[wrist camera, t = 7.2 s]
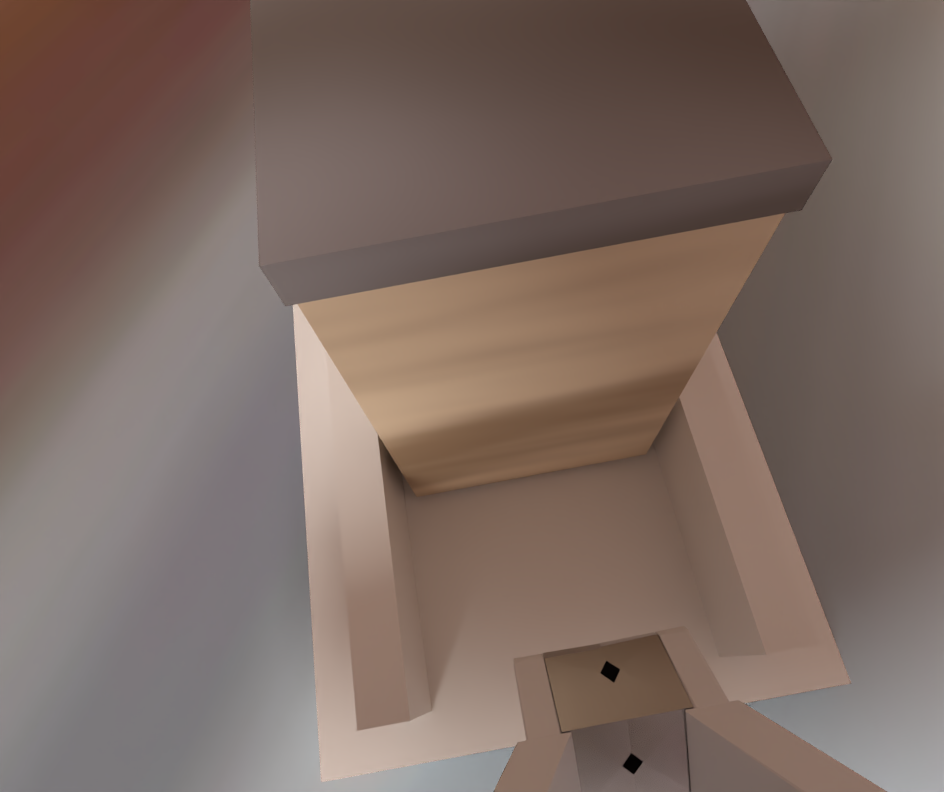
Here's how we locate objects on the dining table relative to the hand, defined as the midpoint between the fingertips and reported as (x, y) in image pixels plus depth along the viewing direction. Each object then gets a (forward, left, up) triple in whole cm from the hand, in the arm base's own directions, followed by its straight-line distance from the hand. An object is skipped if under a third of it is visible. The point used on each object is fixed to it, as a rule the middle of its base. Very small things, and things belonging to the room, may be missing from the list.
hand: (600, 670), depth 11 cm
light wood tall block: (-5, +5, -4) cm, 8 cm away
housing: (-5, +6, -5) cm, 9 cm away
